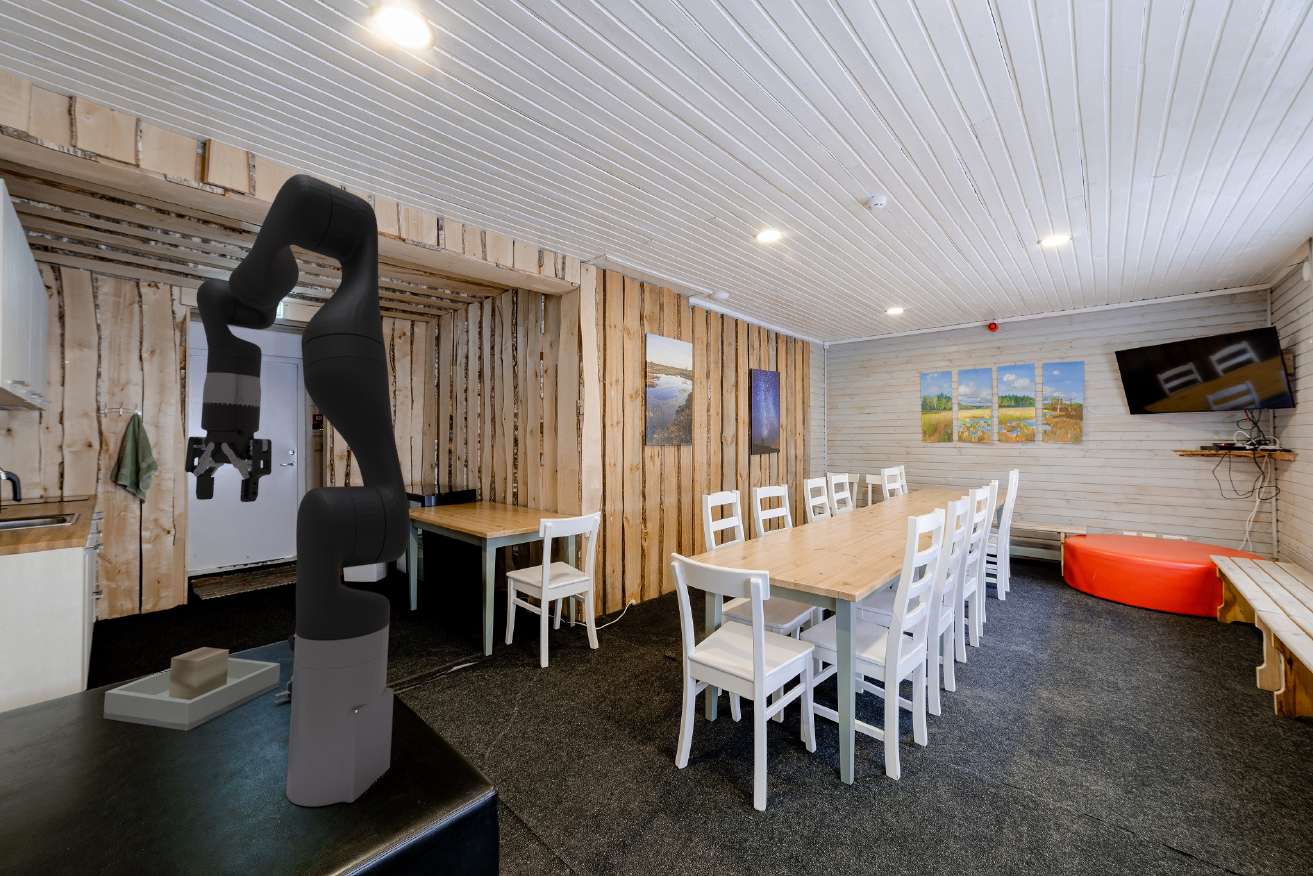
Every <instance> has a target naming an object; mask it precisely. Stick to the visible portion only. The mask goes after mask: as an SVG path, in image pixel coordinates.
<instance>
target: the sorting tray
mask: <svg viewBox="0 0 1313 876" xmlns="http://www.w3.org/2000/svg"><path fill="white" fill-rule="evenodd" d="M280 669H281V663H277V662H269V661H261V660H253V659H245V658H235V657H228V673H227V684H226V685H224V686H222V687H220V688H217V689H215V690H213V691H210V692H208V693H206V694H203V695H201V696H199V697H196V698H194V699H192V700H185V699H178V698H171V697H169V688H170V673H171V671H168V670H171V667H170V668H167V669H164V670H162V671H161V672H163V673H159V672H156V673H154V675H153V674H151V675H148V676H146V677H143V678H139V679H137V680H135V681H132V682H129V683H127V684H126V683H125V684H124V685H121V686H118V687H116V688H112V689H110V690H107V691H105V692H104V693H105V694H104V705H103V708H104V709H103V719H107V720H114V721H119V722H127V723H133V724H139V725H140V724H141V725H145V726H153V727H159V728H166V729H173V730H179V731H186V732H187V731H190V730H192V729H194V728H196V727H198V726H200V725H203V724H205V723H206V722H209V721H211V720H212V719H214V718H217V717H219V716H221V715H223V714H225V713H227V712H229V711H231V710H233V709H235V708H237V707H239V706H242V705H243V704H246V703H247V702H250V701H252V700H255V699H256V698H259V697H260V696H262V695H264V694H266V693H268V692H270V691H272V690H274V689H276V688H279V687H280V673H281V670H280ZM164 671H168V672H164ZM157 673H158V674H157Z"/></svg>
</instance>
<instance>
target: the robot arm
mask: <svg viewBox="0 0 1313 876" xmlns="http://www.w3.org/2000/svg"><path fill="white" fill-rule="evenodd" d="M293 245H294V246H297V247H298V248H300V249H303V250H306V251H309V252H312V253H315V254H318V255H322V256H324V257H327V258H330V259H334V260H336V261H338V262H339V264H340V268H341V281H340V284H339V285H338V287H337V288H336V290H335V292H334V293H333V294H332V295H331V296H330V297H329V299H327V300H326V302H324V304H323V305H322V306H321V307H320V308H319V309H318V310H317V311H316V313H315V314H314V315H313V316H312V317H311V318H310V320H309V321H308V323H307V324H306V326H305V327H304V330H303V332H302V334H301V335H302V336H301V342H300V343H301V355H302V356H301V359H302V371H303V373H302V375H303V382H304V386H305V390H306V391H307V393H308V395H309V397H310V399H311V400H312V402H313V403H314V405H315V406H316V408H317V409H318V410H319V412H320V413H321V414H322V415H323V416H324V417H325V419H326V420H327V421H328V422H329V424H330V425H331V426H332V427H333V428H334V429H335V430H336V432H338V434H339V436H341V438H343V440H344V441H345V442H346V445H348V446H347V447H349V450H351V452H352V454H353V456H354V458H355V461H356V462H357V463H356V464H357V466H358V468H359V472H360V475H361V480H362V484H363V485H351V486H350V485H349V486H346V485H345V486H319V487H314V488H311V489H310V490H308V491H307V492H306V493H305V495H304V496H303V497H302V500H301V501H300V503H299V507H298V510H297V515H296V516H297V518H296V530H295V531H296V532H295V533H296V534H295V535H296V536H295V540H296V542H295V543H296V550H295V551H296V580H295V581H296V583H295V585H296V586H295V614H296V617H295V620H296V621H295V633H294V634H295V650H294V651H293V652H294V653H293V654H294V655H293V670H292V676H293V683H292V700H291V702H290V704H291V705H290V719H289V721H290V723H289V736H288V737H289V739H288V755H287V756H288V757H287V758H288V759H287V760H288V761H287V775H286V776H287V777H286V791H285V792H286V798H287V800H289V801H290V802H291V803H293V804H295V805H298V806H303V807H322V806H329V805H333V804H337V803H353V802H355V801H356V800H357V799H358V798H360V797H361V796H362V794H364V793H366V791H367V790H369V788H371V787H372V786H373V785H374V784H375V783H376V782H377V779H378V778H380V776H382V775H383V774H384V773H385V772H386V771H387V770H388V769H389V768H390V767H391V752H392V751H391V750H392V749H391V747H392V734H393V733H392V731H393V711H394V709H393V708H394V689H393V688H391V687H387V676H388V673H387V672H388V671H387V670H388V650H389V637H390V636H389V634H390V633H389V632H390V631H389V630H390V621H391V620H390V618H391V604H390V600H389V598H387V597H386V596H384V595H382V594H381V593H378V592H373V591H367V590H362V589H355V588H351V587H349V586H346V585H344V584H343V583H342V582H341V573H340V570H341V569H348V568H354V567H363V566H368V565H377V564H384V563H389V562H394V561H397V560H399V559H401V557H403V555H404V553H405V552H406V550H407V549H408V545H409V540H410V535H411V520H410V519H411V515H410V507H409V501H408V496H407V490H406V486H405V481H404V480H405V479H404V476H403V471H402V467H401V462H400V458H399V453H398V448H397V443H396V437H395V431H394V424H393V416H392V415H393V414H392V405H391V404H392V403H391V394H390V385H389V384H390V382H389V370H388V360H387V351H386V350H387V349H386V343H385V338H384V332H383V324H382V323H383V322H382V315H381V305H380V293H379V292H380V291H379V290H380V289H379V229H378V220H377V217H376V213H375V209H374V208H373V206H372V205H371V204H370V203H369V202H368V201H367V200H366V199H364V198H362V197H360V196H358V195H357V194H354V193H351V192H350V191H348V190H345V189H343V188H340V187H338V186H336V185H334V184H331V183H328V182H327V181H323V180H321V179H319V178H317V177H314V176H310V175H307V174H303V173H298V174H294V175H292V176H290V177H289V178H288V179H287V180H286V181H285V182H284V183H283V184H282V186H281V187H280V189H279V190H278V191H277V194H276V195H275V197H274V200H273V201H272V204H271V206H270V208H269V210H268V212H267V214H266V216H265V217H264V220H263V223H262V225H261V227H260V229H259V232H258V234H257V236H256V238H255V241H254V242H253V245H252V247H251V249H250V251H249V252H248V253H247V255H246V256H245V257H244V258H243V259H242V261H240V263H238V265H237V266H236V267H235V268H234V270H232V272H231V274H230V275H229V278H228V280H224V279H219V278H210V279H206V280H205V281H203V282H202V283H201V284H200V285H199V286H198V289H197V292H196V304H197V309H198V312H199V316H200V319H201V321H202V325H203V328H204V333H205V337H206V338H205V339H206V344H207V358H206V360H207V362H206V375H205V378H204V379H205V380H204V383H203V392H202V403H201V404H202V407H201V419H200V420H201V423H200V428H201V429H202V430H203V431H206V436H190V437H188V439H187V449H186V456H185V457H186V458H185V465H184V471H185V472H186V473H191V474H193V476H195V477H196V480H195V481H196V482H195V496H196V499H197V500H199V501H202V500H203V501H204V500H213V498H214V494H215V493H214V492H215V491H214V490H215V489H214V488H215V473H216V472H217V471H218V469H219V468H221V467H222V466H224V464H226V465H232V467H233V468H235V469H237V470H238V471H239V474H240V475H241V477H242V479H241V481H240V482H241V484H240V497H239V499H240V502H242V503H250V502H251V503H252V502H255V501H257V498H258V497H259V485H260V484H259V482H260V479H261V478H262V477H265V476H269V475H271V474H272V464H273V463H272V460H273V459H272V455H273V454H272V452H273V451H272V447H273V445H272V443H273V442H272V440H271V439H270V438H255V433H257V432H259V431H260V419H261V418H260V417H261V402H262V388H261V387H262V386H261V375H262V374H261V372H262V359H263V358H262V355H263V353H262V349H261V347H260V346H259V345H258V344H256V343H254V342H251V341H248V340H246V339H244V338H240V337H238V336H236V335H234V334H233V332H232V331H231V330H230V327H229V326H233V327H239V328H245V329H250V330H257V331H259V330H266V329H269V328H271V327H272V326H273V325H274V324H275V321H276V318H277V315H278V307H279V305H280V302H281V301H282V300H284V299H285V298H286V297H287V296H288V295H289V294H290V293H291V292H292V291H293V290H294V289H295V288H296V286H297V283H298V281H299V277H300V271H299V265H298V262H297V260H296V258H295V255H294V253H293V251H292V247H291V246H293ZM195 459H197V464H195V461H196V460H195ZM261 465H262V467H261ZM390 769H391V768H390ZM384 775H385V774H384ZM384 775H383V776H384ZM383 776H382V777H383ZM380 779H381V778H380ZM375 781H376V782H375ZM374 782H375V783H374ZM373 783H374V784H373ZM372 784H373V785H372ZM371 785H372V786H371ZM370 786H371V787H370Z"/></svg>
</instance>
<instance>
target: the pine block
mask: <svg viewBox="0 0 1313 876" xmlns="http://www.w3.org/2000/svg"><path fill="white" fill-rule="evenodd" d="M229 653H230V649H222V648H214V647H206V646H203V647H200V648H197V649H194V650H192V651H188V652H185V653H182V654H180V655H176V656H173V657H171V659H170V660H171V661H170V668H171V673H170V688H169V697H171V698H178V699H185V700H192V699H194V698H196V697H199V696H201V695H203V694H206V693H208V692H210V691H213V690H215V689H217V688H220V687H222V686H224V685H226V684H227V673H228V658H229V657H230V656H229V655H230V654H229ZM174 669H175V670H174Z"/></svg>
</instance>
